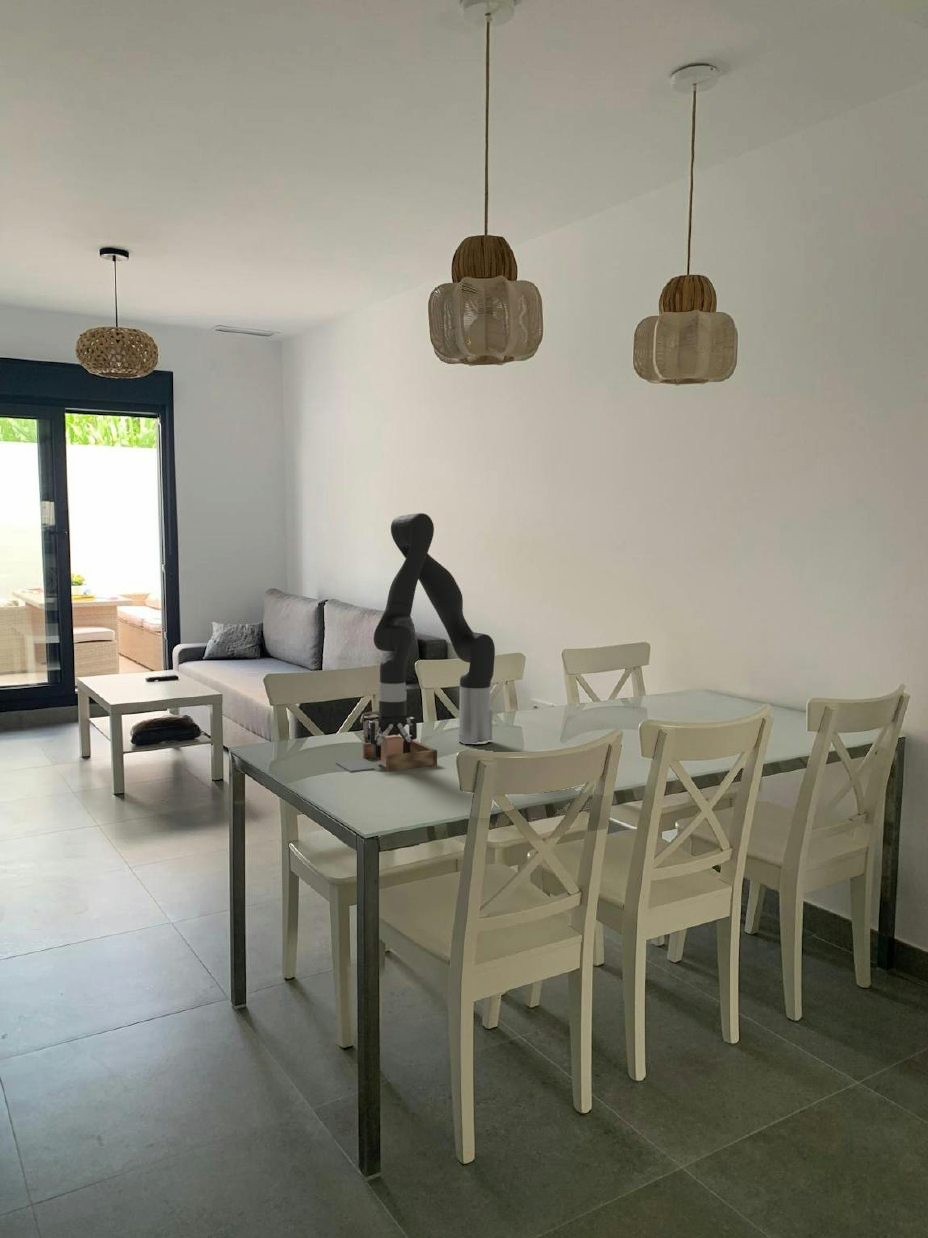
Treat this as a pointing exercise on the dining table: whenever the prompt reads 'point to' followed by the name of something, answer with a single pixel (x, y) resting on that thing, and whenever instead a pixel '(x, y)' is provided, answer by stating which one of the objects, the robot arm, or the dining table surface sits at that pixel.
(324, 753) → the dining table surface
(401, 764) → the open box
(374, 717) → the food container
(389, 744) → the terracotta block
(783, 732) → the dining table surface
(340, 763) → the grey mat
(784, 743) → the dining table surface
